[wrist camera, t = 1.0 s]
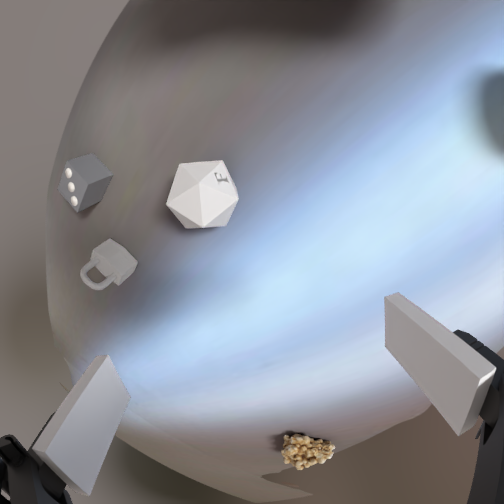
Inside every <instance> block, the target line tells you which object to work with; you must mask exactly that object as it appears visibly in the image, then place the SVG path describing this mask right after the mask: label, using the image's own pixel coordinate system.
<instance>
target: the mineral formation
mask: <svg viewBox="0 0 504 504" xmlns="http://www.w3.org/2000/svg"><path fill="white" fill-rule="evenodd" d="M284 440H285V441H284V444H283V448H284V449H283V450H281V453H282V455H283V456H284V463H285V464H286V463H287V464H289V463H291V464H292V465H293V466H295V467H296V468H297V470H302V469H303V468H304V467H307V468H308V467H310V465H314V464H316V463H317V462H318V463H321V464H322V463H324V462H325V461H326V459H330V458H331V457H332V455H333V452H332V451H331V450H332V449H334V448H335V447H334V445H332V444H331V442H330V441H324V442H323V440H322V439H318V440H317V441H314V440H313V439H312V438H309V437H308V436H304V435H303V436H302V435H299V434H294V435H293V436H292V437H290V436H289V435H285V436H284Z"/></svg>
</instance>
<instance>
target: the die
mask: <svg viewBox="0 0 504 504" xmlns="http://www.w3.org/2000/svg"><path fill="white" fill-rule="evenodd" d="M238 200H239V198H238V193H237V188H236V186H235V184H234V182H233V180H232V178H231V176H230V174H229V172H228V170H227V168H226V166H225V164H224V162H223V160H222V161H207V162H194V163H183V164H179V167H178V170H177V172H176V175H175V178H174V181H173V184H172V187H171V191H170V194H169V197H168V200H167V203H166V205H167V206H168V207H169V209H170V210H171V211H172V212H173V213H174V215H175V216H176V217H177V218H178V219H179V221H180V222H181V223H182V224H183V226H184V227H185V228H206V227H217V226H226V225H227V223H228V221H229V219H230V216H231V214H232V212H233V210H234V208H235V206H236V204H237V202H238Z"/></svg>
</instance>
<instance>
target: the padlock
mask: <svg viewBox="0 0 504 504" xmlns="http://www.w3.org/2000/svg"><path fill="white" fill-rule="evenodd" d="M137 263H138V261H137V260H136V259H135V258H134V257H133V256H132V255H131V254H130V253H129V252H128V251H127V250H126V249H125V248H124V247H123V246H121V245H120V244H118V243H117V242H115V241H114V240H112V239H111V238H109V239H108V240H106V241H105V242H103V243H102V244H100V245H99V246H97V247H96V248H95V249H93V251H92V255H91V259H90V262H88V263H87V264H86V265H84V266H83V267H82V269H81V271H80V276H81V279H82V280H83V282H84V283H85V284H86V285H87V286H88V287H90V288H92V289H94V290H102V289H104V288H106V287H107V286H108V285H109V284H110V283H112V282H114V283H115V284H116V285H120V284H121V283H122V282H123V281H125V280H126V279H127V278H128V277H129V276H130V275H131V274H132V273H133V272H134V271H135V268H136V266H137ZM94 266H95V267H96V268H97V269H98V270H99V271H100V272H101V273H102V274H103V275H104V276H105V277H107V278H106V279H105V280H103V281H102V282H100V283H95V282H93V281H92V280H90V279H89V278H88V276H87V272H88V271H89V270H90V269H91V268H93V267H94Z"/></svg>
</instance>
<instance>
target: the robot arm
mask: <svg viewBox="0 0 504 504" xmlns="http://www.w3.org/2000/svg"><path fill="white" fill-rule="evenodd" d="M384 301H385V347H386V348H387V349H388V351H389V352H390V353H391V354H392V355H393V356H394V358H395V359H396V360H397V361H398V362H399V363H400V365H401V366H402V367H403V368H404V369H405V371H406V372H407V373H408V374H409V375H410V377H411V378H412V379H413V380H414V381H415V383H416V384H417V385H418V386H419V387H420V389H421V390H422V391H423V392H424V394H425V395H426V396H427V397H428V399H429V400H430V401H431V402H432V403H433V405H434V406H435V407H436V408H437V410H438V411H439V412H440V414H441V415H442V416H443V417H444V419H445V420H446V421H447V422H448V423H449V425H450V426H451V427H452V429H453V430H454V431H455V433H456V434H457V435H458V436H460V435H461V434H463V433H464V432H466V431H467V430H469V429H470V428H472V427H473V426H474V425H475V423H476V421H477V419H478V416H479V415H480V416H481V417H482V419H483V420H484V421H483V423H482V425H481V427H480V429H479V431H478V433H477V435H476V438H475V439H478V437H479V436H480V434H481V436H480V444H479V451H478V457H477V464H476V468H475V473H474V478H473V482H472V486H471V491H470V494H469V498H468V502H467V504H504V360H503V359H502V358H501V357H499V356H498V355H497V354H496V353H494V352H493V351H492V350H490V349H489V348H488V347H486V346H484V344H483V343H481V342H480V341H477V339H476V338H474V337H473V336H472V335H470V334H469V333H466V332H463V331H460V330H456V331H454V332H451V331H450V330H449V329H447V328H446V327H445V326H443V325H442V324H441V323H439V322H438V321H437V320H435V319H434V318H433V317H431V316H430V315H429V314H427V313H426V312H425V311H423V310H422V309H421V308H419V307H418V306H417V305H415V304H414V303H412V302H411V301H410V300H408V299H407V298H406V297H404V296H403V295H401V294H400V293H399V292H398V293H395V294H392V295H389V296H386V297H384ZM130 398H131V396H130V395H129V393H128V391H127V389H126V388H125V386H124V384H123V382H122V380H121V378H120V377H119V375H118V373H117V371H116V369H115V367H114V365H113V363H112V361H111V359H110V357H109V355H101V356H96V357H95V359H94V360H93V361H92V363H91V364H90V365H89V367H88V368H87V369H86V371H85V372H84V373H83V375H82V376H81V377H80V379H79V380H78V382H77V383H76V384H75V386H74V387H73V389H72V390H71V391H70V393H69V394H68V396H67V397H66V398H65V400H64V401H63V403H62V404H61V405H60V407H59V408H58V410H57V411H56V412H55V413H53V414H52V415H51V416H50V418H49V420H48V421H47V422H46V424H45V425H44V427H43V428H42V430H41V431H40V433H39V434H38V436H37V437H36V439H35V440H34V442H33V444H32V446H31V447H30V448H29V450H28V451H26V449H25V448H24V447H23V446H22V445H21V444H20V442H19V441H18V440H17V439H16V438H15V437H14V436H13V435H5V436H3V437H1V438H0V504H73V503H72V501H71V498H70V495H69V493H68V492H67V491H66V490H65V486H66V484H67V485H68V486H69V487H70V488H71V489H72V490H74V491H75V492H76V493H80V494H83V495H87V496H90V493H91V491H92V488H93V486H94V483H95V481H96V478H97V476H98V473H99V471H100V468H101V466H102V463H103V461H104V458H105V456H106V453H107V451H108V449H109V446H110V444H111V441H112V439H113V437H114V435H115V432H116V430H117V428H118V425H119V423H120V421H121V418H122V416H123V414H124V412H125V410H126V407H127V405H128V403H129V401H130ZM1 489H2V490H3V491H4V492H5V493H7V494H8V495H9V496H10V501H9V500H7V499H6V498H5V497H4V496H2V495H1Z"/></svg>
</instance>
